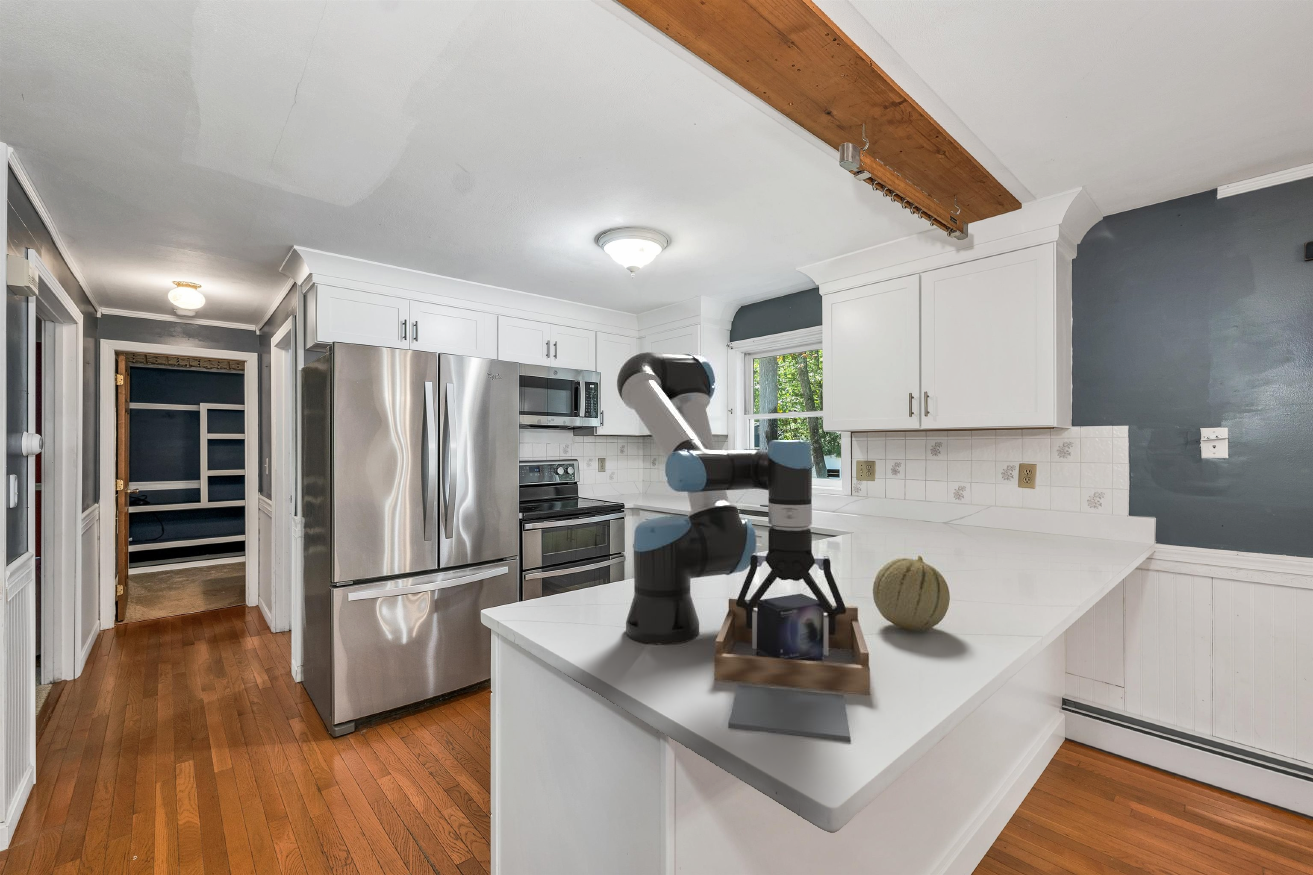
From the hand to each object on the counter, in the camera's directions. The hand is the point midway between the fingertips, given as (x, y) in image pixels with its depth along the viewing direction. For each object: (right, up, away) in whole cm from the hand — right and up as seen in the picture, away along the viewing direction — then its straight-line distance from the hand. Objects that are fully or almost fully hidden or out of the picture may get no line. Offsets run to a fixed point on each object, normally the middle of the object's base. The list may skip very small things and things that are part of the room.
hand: (789, 649), depth 103 cm
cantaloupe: (+29, -2, +18) cm, 35 cm away
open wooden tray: (0, -2, 0) cm, 2 cm away
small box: (0, -2, 0) cm, 2 cm away
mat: (-5, -2, -19) cm, 19 cm away
